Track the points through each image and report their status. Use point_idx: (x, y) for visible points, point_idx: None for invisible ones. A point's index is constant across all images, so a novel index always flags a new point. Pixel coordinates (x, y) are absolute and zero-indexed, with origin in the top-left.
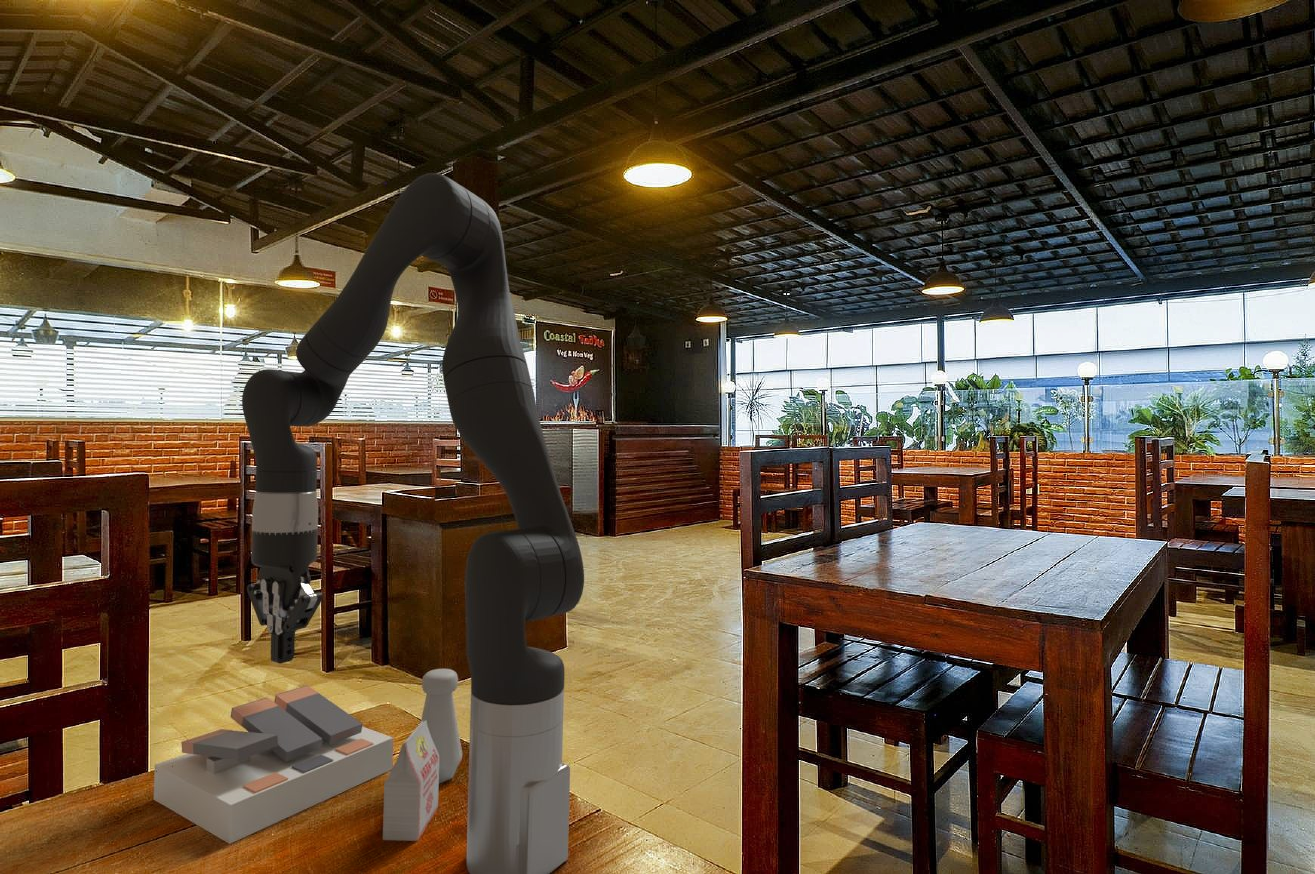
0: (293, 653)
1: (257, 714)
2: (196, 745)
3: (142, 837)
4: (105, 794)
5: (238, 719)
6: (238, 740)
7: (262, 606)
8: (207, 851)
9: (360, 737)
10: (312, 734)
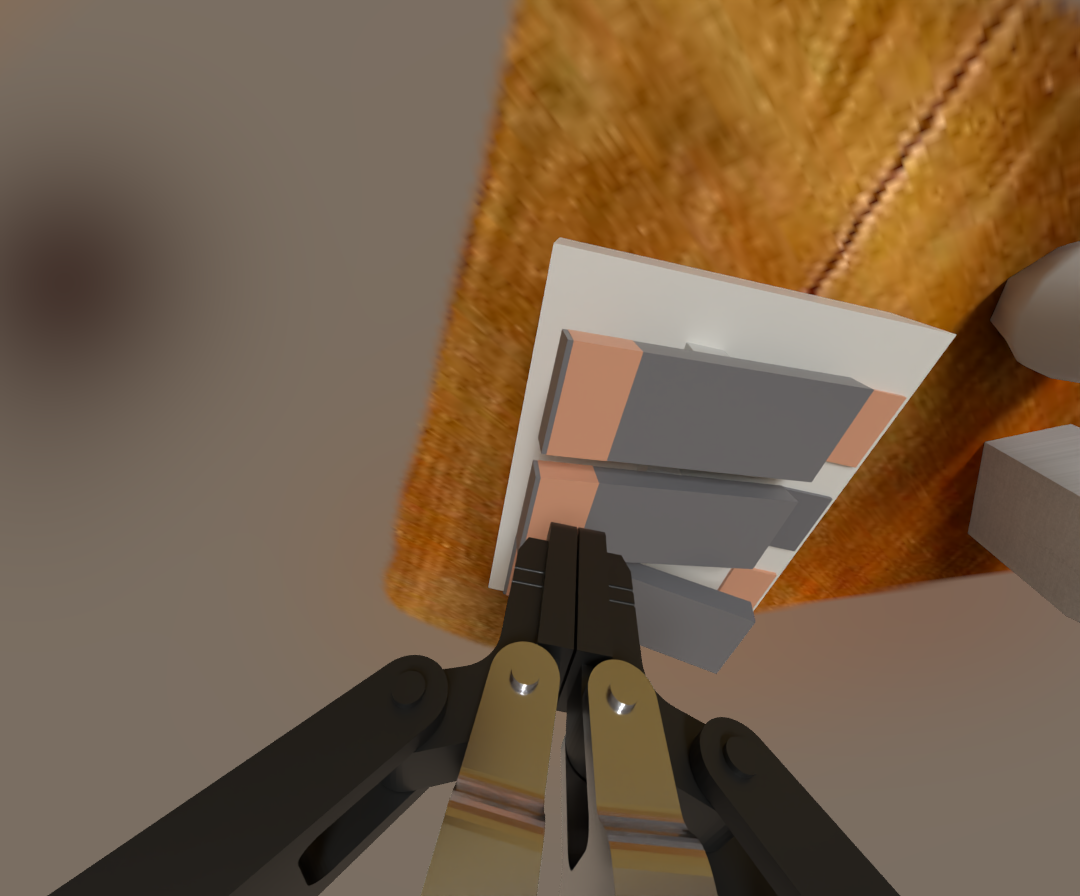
0: (628, 573)
1: None
2: None
3: None
4: (419, 549)
5: None
6: (663, 626)
7: (321, 879)
8: None
9: (838, 370)
10: (766, 506)
